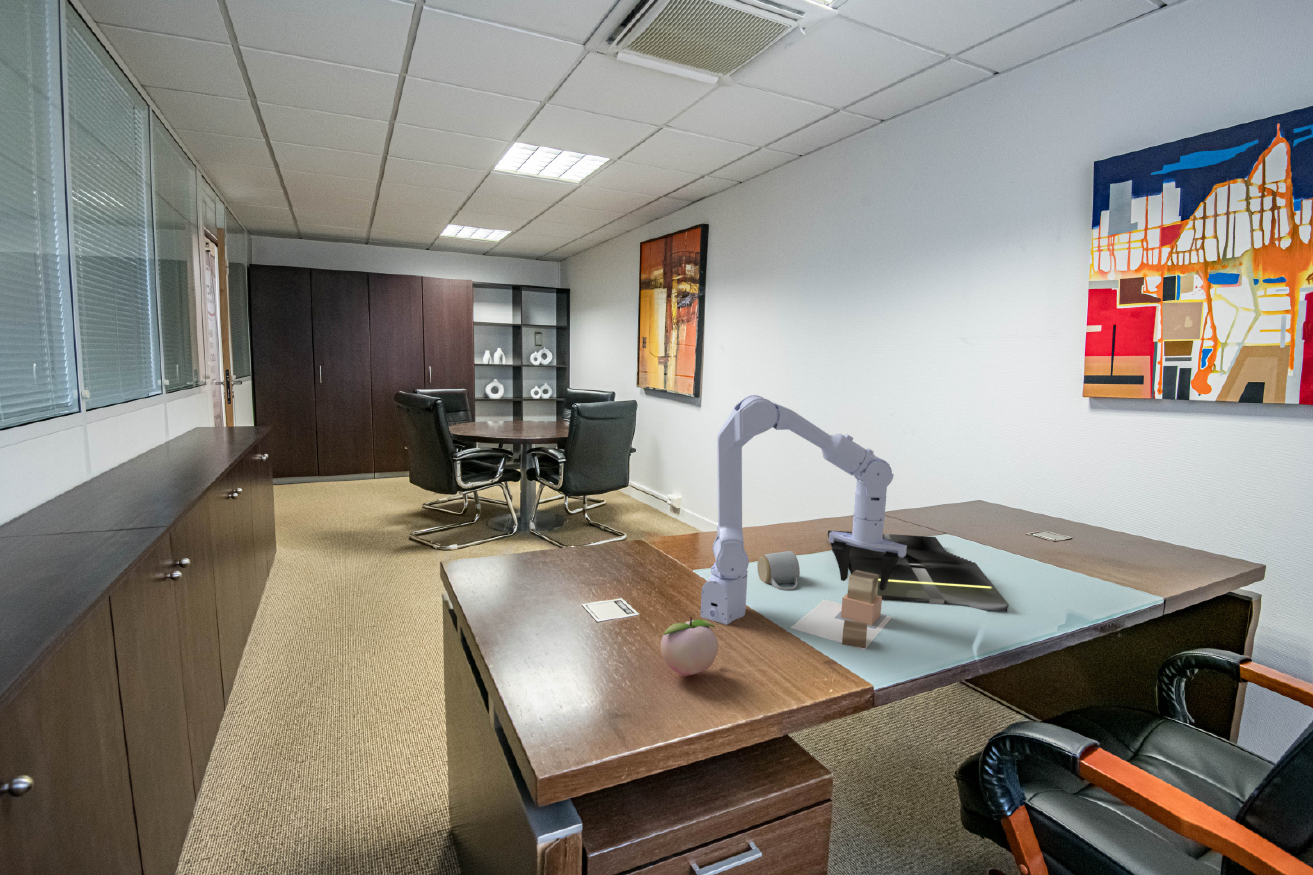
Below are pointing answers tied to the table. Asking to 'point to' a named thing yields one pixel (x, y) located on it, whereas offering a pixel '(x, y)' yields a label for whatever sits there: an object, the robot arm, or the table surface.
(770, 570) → the ceramic mug
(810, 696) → the table surface
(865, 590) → the maple block
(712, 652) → the decorative fruit
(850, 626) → the block
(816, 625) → the mat
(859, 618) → the terracotta block
